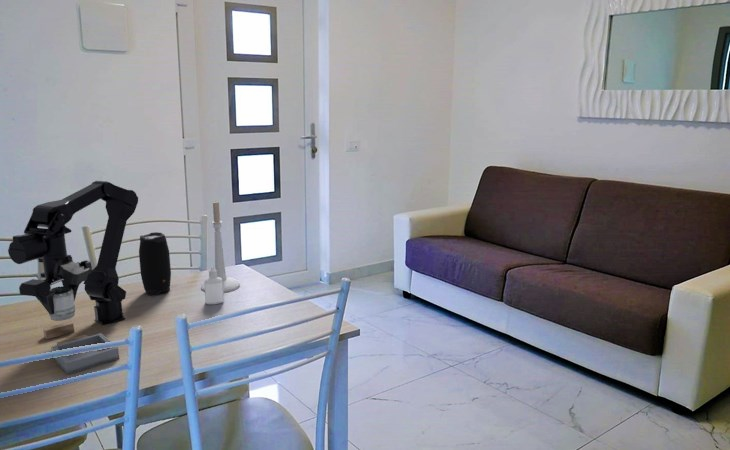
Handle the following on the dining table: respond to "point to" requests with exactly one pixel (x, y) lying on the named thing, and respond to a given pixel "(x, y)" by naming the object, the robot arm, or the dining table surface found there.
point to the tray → (85, 354)
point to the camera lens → (63, 304)
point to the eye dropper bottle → (213, 288)
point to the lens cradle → (61, 332)
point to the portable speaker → (155, 263)
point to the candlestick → (221, 254)
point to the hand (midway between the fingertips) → (61, 309)
